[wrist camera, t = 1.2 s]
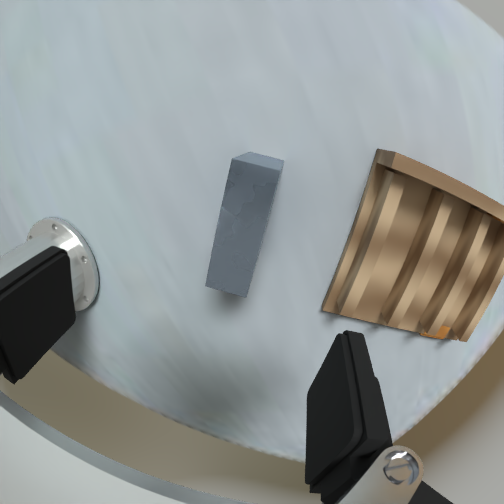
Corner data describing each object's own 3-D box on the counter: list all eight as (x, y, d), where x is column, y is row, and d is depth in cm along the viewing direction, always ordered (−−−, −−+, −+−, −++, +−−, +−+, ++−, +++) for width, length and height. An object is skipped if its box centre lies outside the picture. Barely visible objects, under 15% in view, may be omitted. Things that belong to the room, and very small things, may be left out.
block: (258, 254, 28) (246, 297, 21) (228, 245, 28) (205, 286, 21) (284, 160, 25) (280, 170, 17) (250, 151, 25) (232, 158, 17)
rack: (452, 337, 29) (467, 363, 24) (320, 307, 29) (324, 337, 25) (511, 213, 22) (538, 228, 18) (377, 148, 23) (395, 152, 18)
